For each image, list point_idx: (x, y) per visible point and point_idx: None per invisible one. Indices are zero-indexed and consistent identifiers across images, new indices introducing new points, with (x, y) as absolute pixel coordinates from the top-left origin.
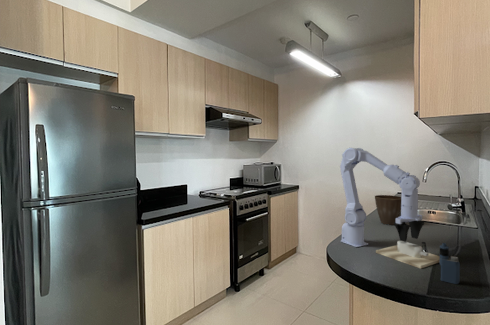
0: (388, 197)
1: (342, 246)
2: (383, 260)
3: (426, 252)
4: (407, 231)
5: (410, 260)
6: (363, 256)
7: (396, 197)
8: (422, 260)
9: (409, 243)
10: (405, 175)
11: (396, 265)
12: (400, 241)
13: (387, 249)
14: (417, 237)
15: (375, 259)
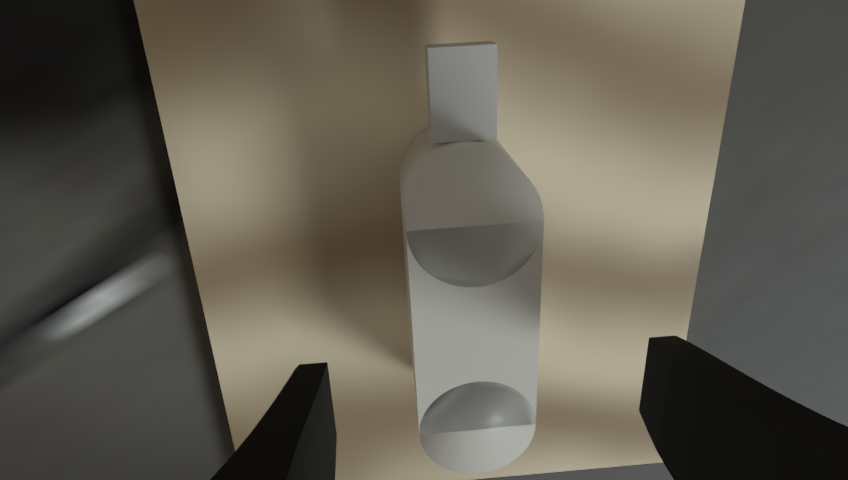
0: None
1: None
2: (802, 285)
3: (435, 77)
4: (826, 447)
5: (663, 121)
6: (842, 419)
7: None
8: (534, 51)
9: (441, 354)
10: None
11: (843, 139)
12: (470, 451)
13: (534, 441)
14: (313, 373)
15: (835, 332)
